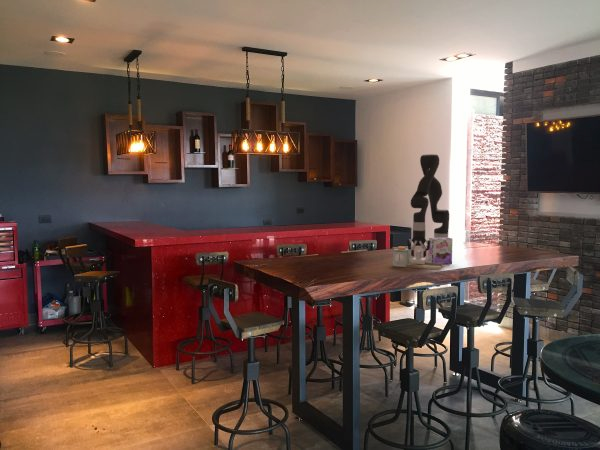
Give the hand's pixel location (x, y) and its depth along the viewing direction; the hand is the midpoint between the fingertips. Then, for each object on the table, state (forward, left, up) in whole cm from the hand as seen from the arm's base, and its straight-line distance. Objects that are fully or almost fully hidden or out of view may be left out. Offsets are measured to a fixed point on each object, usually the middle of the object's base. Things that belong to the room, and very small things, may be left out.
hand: (418, 256), depth 309 cm
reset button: (0, -11, +1) cm, 11 cm away
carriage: (0, 0, -4) cm, 4 cm away
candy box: (-18, +10, -6) cm, 21 cm away
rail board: (0, +4, -6) cm, 7 cm away
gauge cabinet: (0, -10, -6) cm, 12 cm away
